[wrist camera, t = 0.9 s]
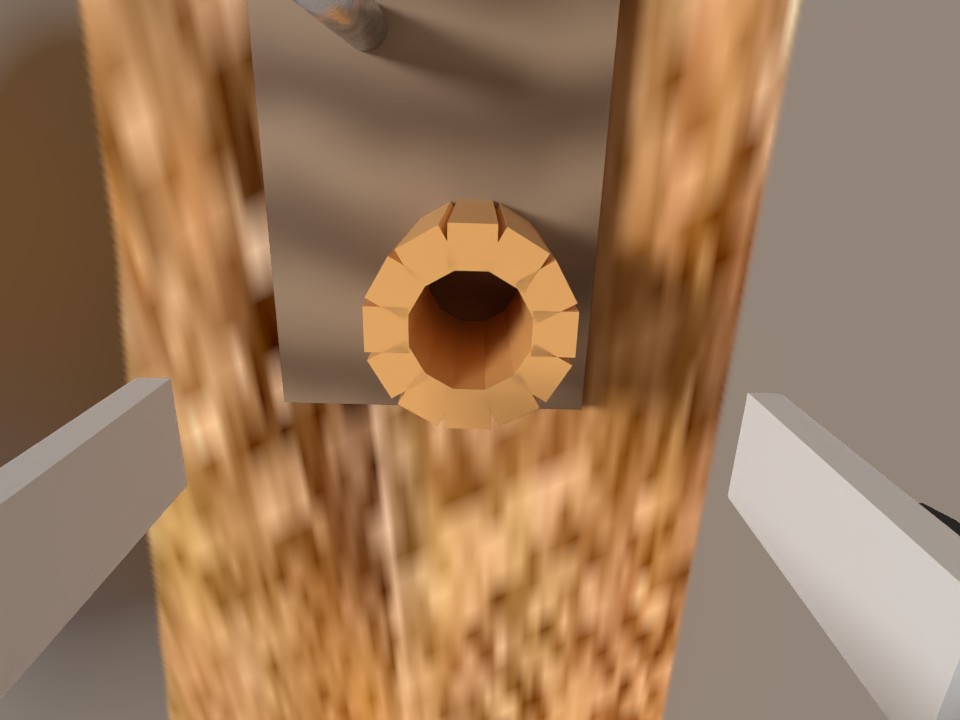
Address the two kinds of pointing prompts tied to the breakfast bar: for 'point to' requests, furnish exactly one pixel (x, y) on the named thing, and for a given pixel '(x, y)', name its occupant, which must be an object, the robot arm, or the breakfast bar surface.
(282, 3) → the plate
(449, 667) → the breakfast bar surface
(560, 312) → the collar
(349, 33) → the silver metal piece
